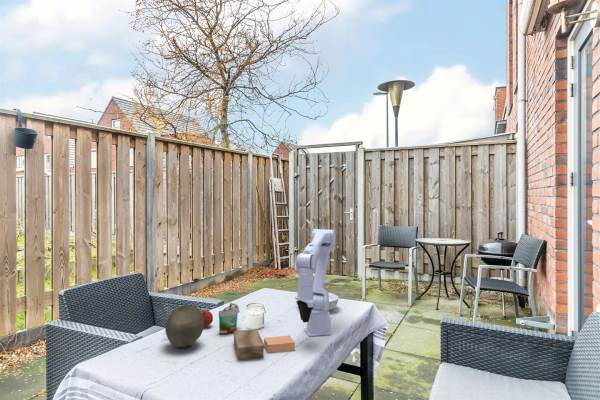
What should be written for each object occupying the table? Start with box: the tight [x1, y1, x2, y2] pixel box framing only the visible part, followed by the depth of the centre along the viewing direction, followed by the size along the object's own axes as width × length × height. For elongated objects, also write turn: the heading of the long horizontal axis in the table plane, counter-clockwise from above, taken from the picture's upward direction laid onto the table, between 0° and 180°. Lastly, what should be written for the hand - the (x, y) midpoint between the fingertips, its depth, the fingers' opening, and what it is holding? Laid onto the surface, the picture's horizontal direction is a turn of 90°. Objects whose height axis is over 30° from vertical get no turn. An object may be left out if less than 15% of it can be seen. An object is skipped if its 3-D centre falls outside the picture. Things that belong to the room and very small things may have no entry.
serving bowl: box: [296, 292, 339, 312], centre depth 183 cm, size 21×21×7 cm
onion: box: [201, 308, 214, 328], centre depth 154 cm, size 6×6×8 cm
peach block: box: [263, 335, 296, 354], centre depth 134 cm, size 10×7×3 cm
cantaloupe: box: [164, 304, 205, 348], centre depth 134 cm, size 14×14×15 cm
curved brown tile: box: [233, 328, 265, 360], centre depth 131 cm, size 9×16×5 cm, turn 16°
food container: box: [218, 302, 240, 336], centre depth 150 cm, size 12×6×10 cm, turn 168°
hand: (304, 320), depth 137 cm, fingers closed
